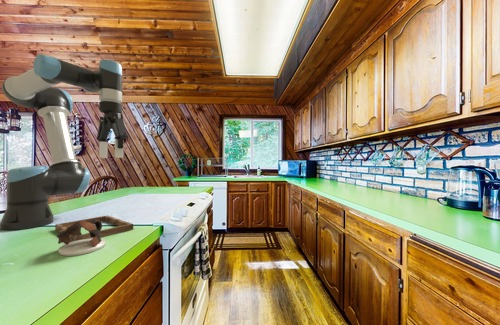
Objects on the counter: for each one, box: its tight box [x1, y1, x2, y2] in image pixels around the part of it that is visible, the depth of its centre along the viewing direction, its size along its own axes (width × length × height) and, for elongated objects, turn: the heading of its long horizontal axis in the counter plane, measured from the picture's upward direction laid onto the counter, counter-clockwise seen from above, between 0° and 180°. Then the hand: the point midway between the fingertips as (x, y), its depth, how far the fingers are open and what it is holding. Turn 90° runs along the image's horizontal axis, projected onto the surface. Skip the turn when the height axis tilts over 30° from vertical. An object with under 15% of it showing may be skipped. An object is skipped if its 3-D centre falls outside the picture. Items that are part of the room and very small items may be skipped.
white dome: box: [58, 238, 107, 257], centre depth 66 cm, size 11×11×1 cm
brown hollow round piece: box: [56, 218, 103, 247], centre depth 67 cm, size 12×9×8 cm
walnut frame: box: [54, 215, 134, 242], centre depth 83 cm, size 22×17×2 cm
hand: (110, 157), depth 86 cm, fingers open, 13 cm apart
